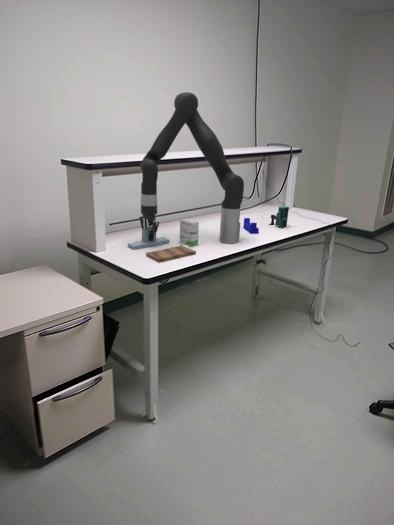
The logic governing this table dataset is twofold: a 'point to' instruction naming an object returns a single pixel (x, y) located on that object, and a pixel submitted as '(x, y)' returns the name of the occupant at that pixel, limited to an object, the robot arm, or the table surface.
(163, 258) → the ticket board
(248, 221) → the blue bent block
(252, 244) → the table surface
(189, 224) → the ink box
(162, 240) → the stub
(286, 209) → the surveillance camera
